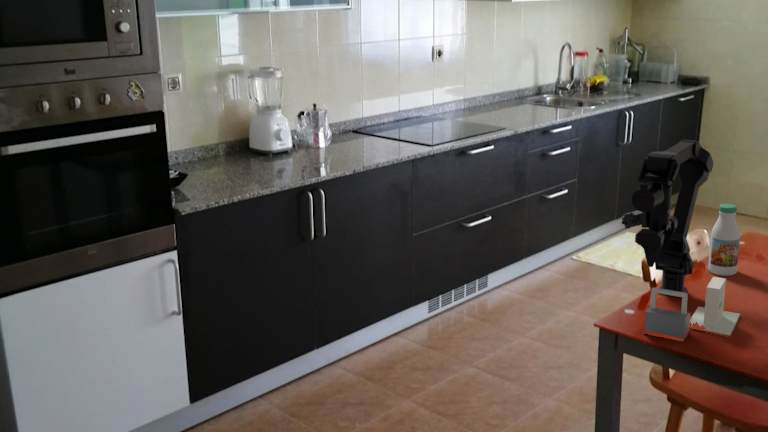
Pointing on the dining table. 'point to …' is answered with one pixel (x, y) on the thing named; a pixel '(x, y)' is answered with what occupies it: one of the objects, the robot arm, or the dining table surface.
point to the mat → (724, 325)
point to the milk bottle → (724, 242)
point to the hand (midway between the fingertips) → (654, 261)
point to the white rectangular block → (714, 301)
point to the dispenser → (667, 316)
